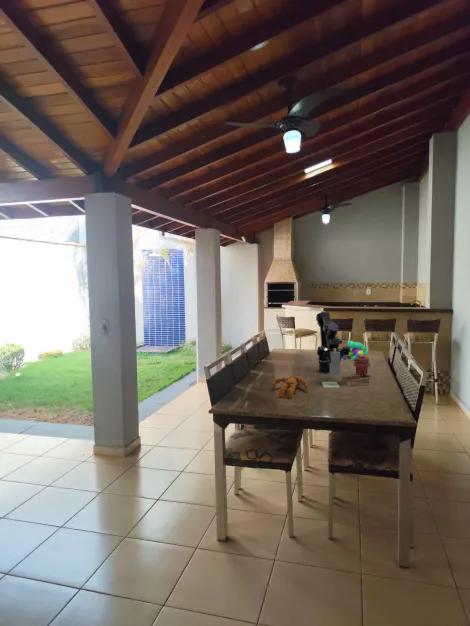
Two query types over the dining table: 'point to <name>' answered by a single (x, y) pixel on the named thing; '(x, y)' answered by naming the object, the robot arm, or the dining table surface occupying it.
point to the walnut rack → (355, 380)
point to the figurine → (356, 350)
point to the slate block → (335, 362)
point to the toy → (289, 385)
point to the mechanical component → (361, 365)
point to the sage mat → (330, 384)
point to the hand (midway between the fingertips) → (335, 362)
